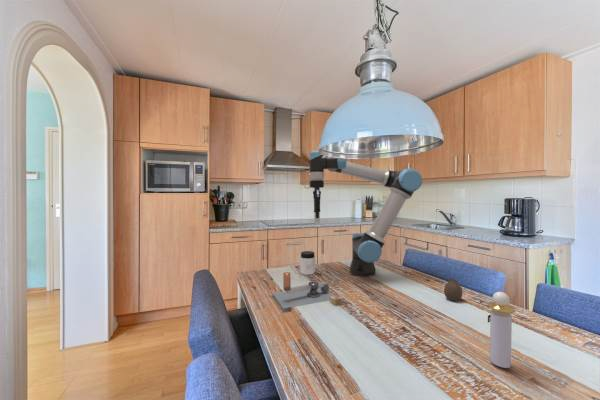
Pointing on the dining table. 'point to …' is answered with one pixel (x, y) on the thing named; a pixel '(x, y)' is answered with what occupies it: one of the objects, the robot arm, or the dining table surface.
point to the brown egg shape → (453, 290)
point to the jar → (307, 262)
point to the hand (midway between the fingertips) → (317, 224)
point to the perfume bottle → (500, 330)
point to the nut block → (336, 300)
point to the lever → (310, 286)
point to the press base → (300, 298)
